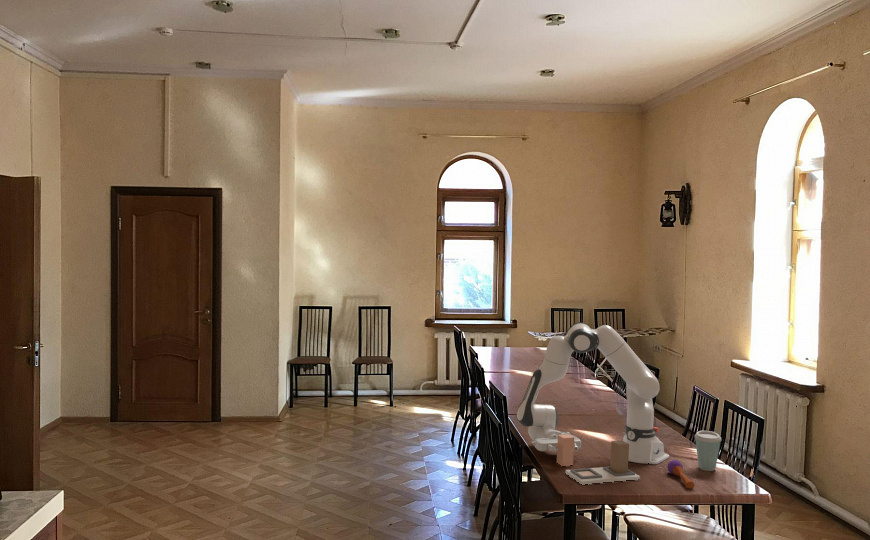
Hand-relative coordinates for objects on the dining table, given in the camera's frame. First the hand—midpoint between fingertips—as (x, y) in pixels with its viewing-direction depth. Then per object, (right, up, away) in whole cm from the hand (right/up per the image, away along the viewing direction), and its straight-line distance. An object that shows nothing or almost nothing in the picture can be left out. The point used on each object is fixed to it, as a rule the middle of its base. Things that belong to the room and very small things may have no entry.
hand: (566, 449), depth 291 cm
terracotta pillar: (-1, -7, +1) cm, 7 cm away
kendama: (+43, -9, -13) cm, 46 cm away
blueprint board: (+12, -8, -13) cm, 19 cm away
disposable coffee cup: (+60, -9, +3) cm, 60 cm away
